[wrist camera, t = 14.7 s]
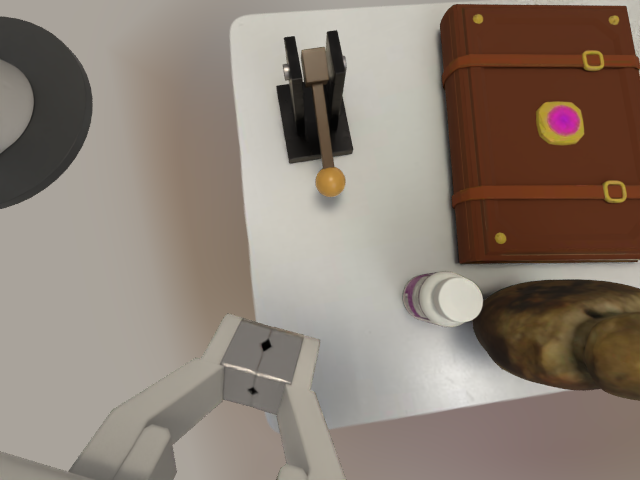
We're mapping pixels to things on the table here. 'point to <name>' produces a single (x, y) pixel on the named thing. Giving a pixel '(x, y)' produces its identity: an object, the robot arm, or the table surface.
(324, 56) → the lever
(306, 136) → the black lever stand
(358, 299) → the table surface
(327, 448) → the robot arm
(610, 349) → the brown lumpy potato
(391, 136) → the table surface
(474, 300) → the pill bottle
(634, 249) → the book
